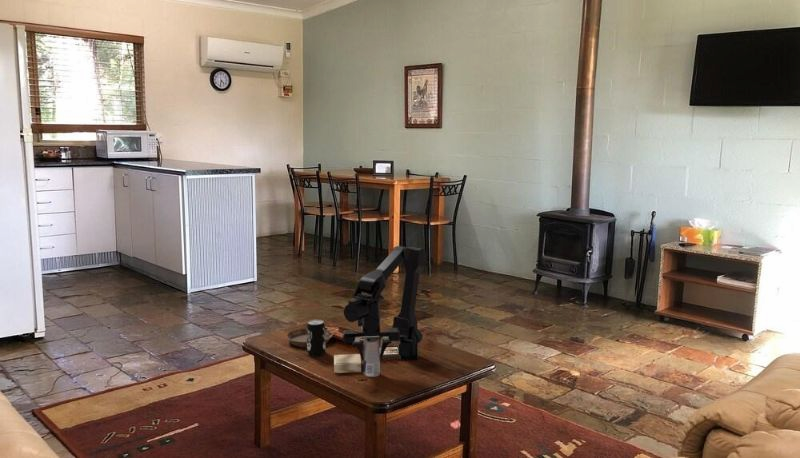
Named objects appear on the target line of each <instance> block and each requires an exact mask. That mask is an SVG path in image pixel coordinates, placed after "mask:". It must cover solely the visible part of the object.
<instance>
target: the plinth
mask: <svg viewBox="0 0 800 458" xmlns="http://www.w3.org/2000/svg"><path fill="white" fill-rule="evenodd" d="M361 360H362V359H361V356H360V353H351V354H349V353H348V354H334V355H333V369H334V370H333V371H334V372H333V373H334V374H343V373H345V374H346V373H362V362H361Z"/></svg>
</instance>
